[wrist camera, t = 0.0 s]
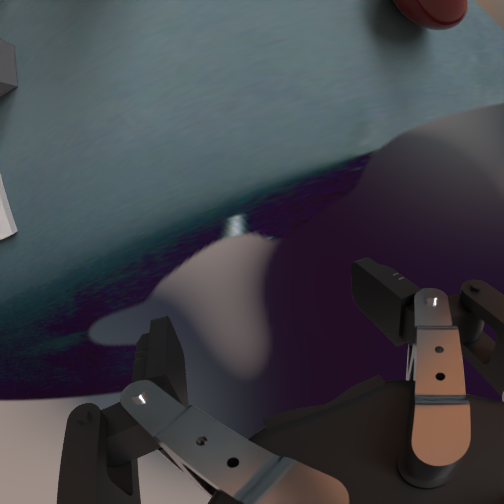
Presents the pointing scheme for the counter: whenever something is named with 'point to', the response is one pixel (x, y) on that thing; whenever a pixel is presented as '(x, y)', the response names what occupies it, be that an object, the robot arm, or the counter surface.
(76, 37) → the counter surface
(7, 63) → the grey square holder
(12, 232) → the grey flat frame
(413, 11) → the round-bottom flask
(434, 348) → the robot arm
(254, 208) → the counter surface
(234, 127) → the counter surface
